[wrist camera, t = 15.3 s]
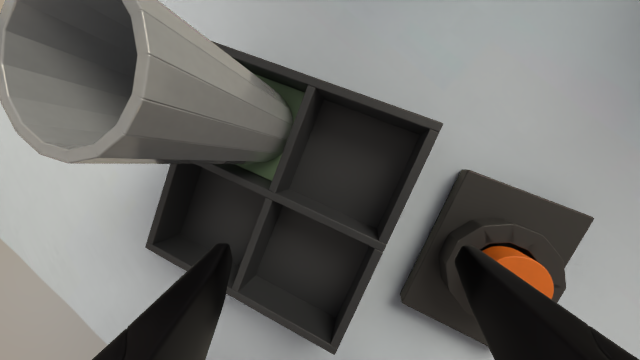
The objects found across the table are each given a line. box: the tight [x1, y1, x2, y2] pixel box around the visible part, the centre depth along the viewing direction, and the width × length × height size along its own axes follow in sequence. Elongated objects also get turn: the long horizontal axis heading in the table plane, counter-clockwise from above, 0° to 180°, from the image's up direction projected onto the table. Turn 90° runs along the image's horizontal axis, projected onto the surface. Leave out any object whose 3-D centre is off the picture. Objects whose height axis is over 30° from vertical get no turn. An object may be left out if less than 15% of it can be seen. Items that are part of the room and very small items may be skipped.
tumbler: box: [0, 0, 293, 164], centre depth 14 cm, size 6×6×13 cm
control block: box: [400, 170, 594, 346], centre depth 16 cm, size 11×8×3 cm
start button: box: [482, 246, 554, 299], centre depth 14 cm, size 4×4×2 cm
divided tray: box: [146, 41, 443, 355], centre depth 19 cm, size 18×18×4 cm
